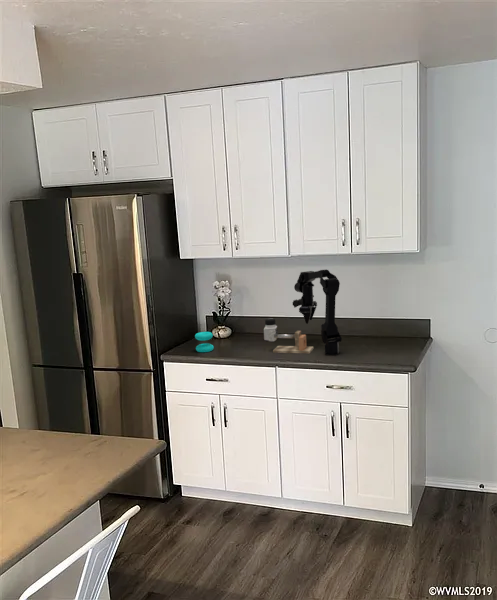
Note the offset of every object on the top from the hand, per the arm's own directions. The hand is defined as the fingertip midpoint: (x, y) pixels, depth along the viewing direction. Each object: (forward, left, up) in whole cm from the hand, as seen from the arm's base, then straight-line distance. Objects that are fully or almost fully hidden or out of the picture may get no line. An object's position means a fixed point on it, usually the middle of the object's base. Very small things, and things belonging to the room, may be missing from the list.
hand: (308, 321), depth 336 cm
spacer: (+1, +14, -12) cm, 18 cm away
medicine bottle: (+26, -12, -13) cm, 32 cm away
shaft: (+12, +14, -7) cm, 20 cm away
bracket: (+6, +14, -13) cm, 20 cm away
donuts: (+56, +18, -13) cm, 60 cm away
